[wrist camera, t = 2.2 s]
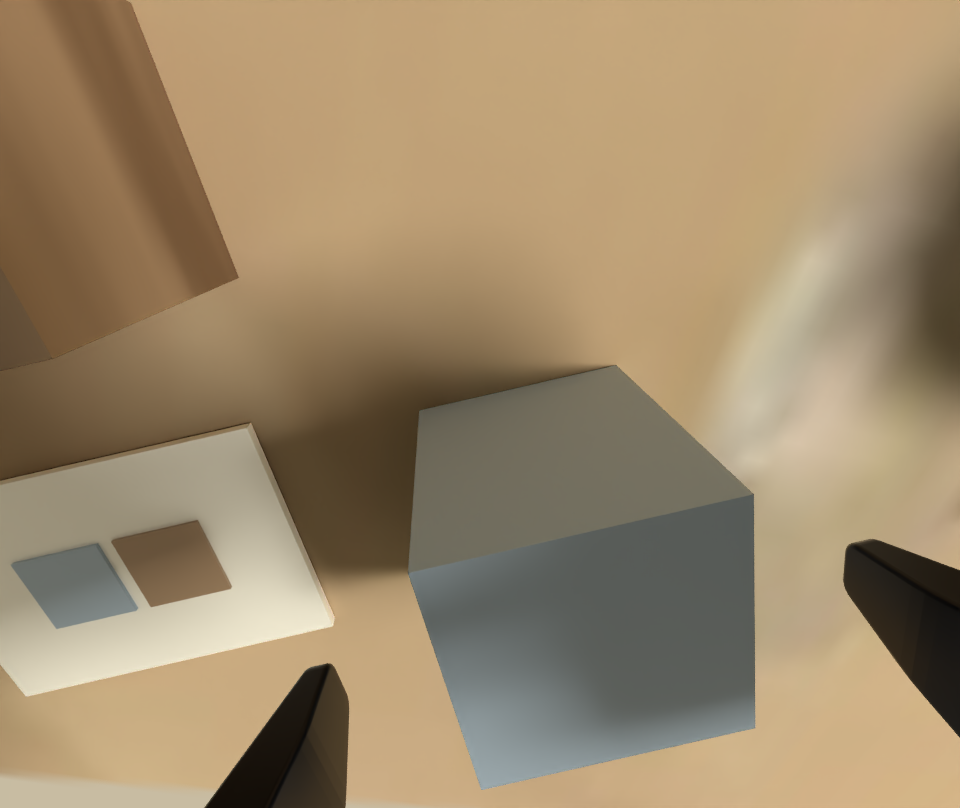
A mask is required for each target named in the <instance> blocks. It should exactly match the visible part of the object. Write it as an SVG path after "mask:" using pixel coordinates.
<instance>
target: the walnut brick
mask: <svg viewBox="0 0 960 808" xmlns="http://www.w3.org/2000/svg"><path fill="white" fill-rule="evenodd" d="M237 278H239V277H238V275H237V272H236V269H235V267H234V264H233V262H232V259H231V257H230V254H229V252H228V249H227V247H226V244H225V241H224V239H223V236H222V234H221V231H220V229H219V226H218V224H217V221H216V219H215V216H214V213H213V211H212V208H211V206H210V203H209V201H208V198H207V196H206V193H205V191H204V188H203V185H202V183H201V180H200V178H199V175H198V173H197V170H196V168H195V165H194V162H193V160H192V157H191V155H190V152H189V150H188V147H187V145H186V142H185V140H184V137H183V134H182V132H181V129H180V127H179V124H178V122H177V119H176V117H175V114H174V112H173V109H172V106H171V104H170V101H169V99H168V96H167V94H166V91H165V89H164V86H163V83H162V81H161V78H160V76H159V73H158V71H157V68H156V66H155V63H154V61H153V58H152V55H151V53H150V50H149V48H148V45H147V43H146V40H145V38H144V35H143V33H142V30H141V27H140V25H139V22H138V20H137V17H136V15H135V12H134V10H133V7H132V4H131V3H130V2H128V1H126V0H0V371H2V370H7V369H11V368H15V367H19V366H24V365H28V364H32V363H37V362H41V361H45V360H50V359H53V358H56V357H58V356H60V355H63V354H65V353H67V352H69V351H72V350H74V349H76V348H79V347H81V346H83V345H85V344H88V343H90V342H92V341H95V340H97V339H99V338H102V337H104V336H106V335H108V334H111V333H113V332H115V331H118V330H120V329H122V328H124V327H127V326H129V325H131V324H134V323H136V322H138V321H141V320H143V319H145V318H147V317H150V316H152V315H154V314H157V313H159V312H161V311H163V310H166V309H168V308H170V307H173V306H175V305H177V304H180V303H182V302H184V301H186V300H189V299H191V298H193V297H196V296H198V295H200V294H203V293H205V292H207V291H209V290H212V289H214V288H216V287H219V286H221V285H223V284H225V283H228V282H230V281H232V280H235V279H237Z"/></svg>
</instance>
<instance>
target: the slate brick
mask: <svg viewBox="0 0 960 808" xmlns="http://www.w3.org/2000/svg"><path fill="white" fill-rule="evenodd" d="M408 575H409V578H410V581H411V584H412V587H413V589H414V592H415V595H416V598H417V601H418V604H419V607H420V610H421V613H422V616H423V619H424V622H425V625H426V628H427V631H428V634H429V637H430V640H431V643H432V646H433V648H434V651H435V654H436V657H437V660H438V663H439V666H440V669H441V672H442V675H443V678H444V681H445V684H446V687H447V690H448V693H449V696H450V699H451V702H452V705H453V707H454V710H455V713H456V716H457V719H458V722H459V725H460V728H461V731H462V734H463V737H464V740H465V743H466V746H467V749H468V752H469V755H470V758H471V761H472V764H473V766H474V769H475V772H476V775H477V778H478V781H479V784H480V787H481V790H484V789H488V788H492V787H497V786H501V785H506V784H510V783H515V782H519V781H523V780H528V779H532V778H537V777H541V776H545V775H550V774H554V773H559V772H563V771H568V770H572V769H576V768H581V767H585V766H590V765H594V764H598V763H603V762H607V761H612V760H616V759H621V758H625V757H629V756H634V755H638V754H643V753H647V752H652V751H656V750H660V749H665V748H669V747H674V746H678V745H682V744H687V743H691V742H696V741H700V740H705V739H709V738H713V737H718V736H722V735H727V734H731V733H735V732H740V731H744V730H749V729H753V728H755V615H754V494H753V493H752V492H751V491H750V490H749V489H748V488H747V487H746V486H744V485H743V484H742V483H741V482H740V481H739V480H738V479H737V478H736V477H735V476H734V475H733V474H732V473H731V472H730V471H728V470H727V469H726V468H725V467H724V466H723V465H722V464H721V463H720V462H719V461H718V460H717V459H716V458H715V457H714V456H712V455H711V454H710V453H709V452H708V451H707V450H706V449H705V448H704V447H703V446H702V445H701V444H700V443H699V442H698V441H696V440H695V439H694V438H693V437H692V436H691V435H690V434H689V433H688V432H687V431H686V430H685V429H684V428H683V427H682V426H681V425H679V424H678V423H677V422H676V421H675V420H674V419H673V418H672V417H671V416H670V415H669V414H668V413H667V412H666V411H665V410H663V409H662V408H661V407H660V406H659V405H658V404H657V403H656V402H655V401H654V400H653V399H652V398H651V397H650V396H649V395H647V394H646V393H645V392H644V391H643V390H642V389H641V388H640V387H639V386H638V385H637V384H636V383H635V382H634V381H633V380H631V379H630V378H629V377H628V376H627V375H626V374H625V373H624V372H623V371H622V370H621V369H620V368H619V367H618V366H617V365H615V366H610V367H606V368H602V369H597V370H593V371H589V372H584V373H580V374H576V375H571V376H567V377H563V378H558V379H554V380H550V381H545V382H541V383H536V384H532V385H528V386H523V387H519V388H515V389H510V390H506V391H502V392H497V393H493V394H489V395H484V396H480V397H476V398H471V399H467V400H463V401H458V402H454V403H450V404H445V405H441V406H437V407H432V408H428V409H424V410H419V423H418V437H417V451H416V465H415V480H414V494H413V508H412V523H411V537H410V551H409V566H408Z"/></svg>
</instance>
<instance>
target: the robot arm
mask: <svg viewBox="0 0 960 808" xmlns="http://www.w3.org/2000/svg"><path fill="white" fill-rule="evenodd" d="M843 582H844V586H845V589H846V591H847V593H848V595H849V596H850V598H851V599H852V601H853V602H854V603H855V605H856V606H857V608H858V609H859V610H860V612H861V613H862V614H863V616H864V617H865V619H866V620H867V621H868V623H869V624H870V626H871V627H872V628H873V630H874V631H875V632H876V634H877V635H878V637H879V638H880V639H881V641H882V642H883V644H884V645H885V646H886V648H887V649H888V650H889V652H890V653H891V655H892V656H893V657H894V659H895V660H896V662H897V663H898V664H899V666H900V667H901V668H902V670H903V671H904V672H905V674H906V675H907V676H908V677H909V679H910V680H911V681H912V682H913V684H914V685H915V686H916V687H917V688H918V690H919V691H920V692H921V693H922V694H923V696H924V697H925V698H926V699H927V700H928V701H929V703H930V704H931V705H932V706H933V707H934V708H935V710H936V711H937V712H938V713H939V714H940V715H941V716H942V718H943V719H944V720H945V721H946V722H947V723H948V725H949V726H950V727H951V728H952V729H953V730H954V731H955V733H956V734H957V735H958V736H959V737H960V570H958V569H955V568H952V567H949V566H947V565H944V564H941V563H939V562H936V561H933V560H931V559H928V558H925V557H922V556H920V555H917V554H914V553H912V552H909V551H906V550H903V549H901V548H898V547H895V546H893V545H890V544H887V543H885V542H882V541H879V540H875V539H868V540H864V541H859V542H855V543H851V544H849V545H848V546H847V548H846V551H845V564H844V576H843ZM348 729H349V701H348V696H347V694H346V691H345V689H344V687H343V685H342V682H341V680H340V678H339V676H338V674H337V671H336V669H335V668H334V666H333V665H332V664H328V663H327V664H323V665H318V666H314V667H310V668H308V669H307V670H306V671H305V672H304V673H303V674H302V676H301V677H300V678H299V680H298V681H297V683H296V684H295V685H294V687H293V688H292V689H291V691H290V692H289V693H288V695H287V696H286V697H285V699H284V700H283V702H282V703H281V704H280V706H279V707H278V708H277V710H276V711H275V712H274V714H273V715H272V717H271V718H270V719H269V721H268V722H267V723H266V725H265V726H264V727H263V729H262V730H261V731H260V733H259V734H258V736H257V737H256V738H255V740H254V741H253V742H252V744H251V745H250V746H249V748H248V749H247V751H246V752H245V753H244V755H243V756H242V757H241V759H240V760H239V761H238V763H237V764H236V765H235V767H234V768H233V770H232V771H231V772H230V774H229V775H228V776H227V778H226V779H225V780H224V782H223V783H222V784H221V786H220V787H219V789H218V790H217V791H216V793H215V794H214V795H213V797H212V798H211V799H210V801H209V802H208V804H207V805H206V806H205V808H345V806H346V786H347V757H348Z"/></svg>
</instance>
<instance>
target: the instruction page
mask: <svg viewBox="0 0 960 808" xmlns="http://www.w3.org/2000/svg"><path fill="white" fill-rule="evenodd" d="M334 620H335V617H334V615H333V612H332V610H331V608H330V605H329V603H328V601H327V598H326V596H325V594H324V591H323V589H322V587H321V585H320V582H319V580H318V578H317V575H316V573H315V571H314V568H313V566H312V564H311V561H310V559H309V557H308V554H307V552H306V550H305V547H304V545H303V543H302V540H301V538H300V536H299V533H298V531H297V529H296V526H295V524H294V522H293V519H292V517H291V515H290V512H289V510H288V508H287V505H286V503H285V501H284V498H283V496H282V494H281V491H280V489H279V487H278V485H277V482H276V480H275V478H274V475H273V473H272V471H271V468H270V466H269V464H268V461H267V459H266V457H265V454H264V452H263V450H262V447H261V445H260V443H259V440H258V438H257V436H256V433H255V431H254V429H253V426H252V424H251V423H248V424H243V425H239V426H235V427H230V428H226V429H222V430H218V431H213V432H209V433H205V434H200V435H196V436H192V437H187V438H183V439H179V440H174V441H170V442H166V443H161V444H157V445H153V446H148V447H144V448H140V449H135V450H131V451H127V452H123V453H118V454H114V455H110V456H105V457H101V458H97V459H92V460H88V461H84V462H79V463H75V464H71V465H66V466H62V467H58V468H53V469H49V470H45V471H40V472H36V473H32V474H27V475H23V476H19V477H15V478H10V479H6V480H2V481H0V665H1V666H2V667H3V669H4V670H5V671H6V672H7V674H8V675H9V676H10V677H11V679H12V680H13V681H14V682H15V683H16V685H17V686H18V687H19V688H20V690H21V691H22V692H23V693H24V695H25V696H26V697H27V696H31V695H35V694H40V693H44V692H48V691H53V690H57V689H62V688H66V687H70V686H75V685H79V684H83V683H88V682H92V681H96V680H101V679H105V678H109V677H114V676H118V675H123V674H127V673H131V672H136V671H140V670H144V669H149V668H153V667H157V666H162V665H166V664H170V663H175V662H179V661H184V660H188V659H192V658H197V657H201V656H205V655H210V654H214V653H218V652H223V651H227V650H231V649H236V648H240V647H244V646H249V645H253V644H258V643H262V642H266V641H271V640H275V639H279V638H284V637H288V636H292V635H297V634H301V633H305V632H310V631H314V630H319V629H323V628H327V627H332V626H333V624H334Z"/></svg>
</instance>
